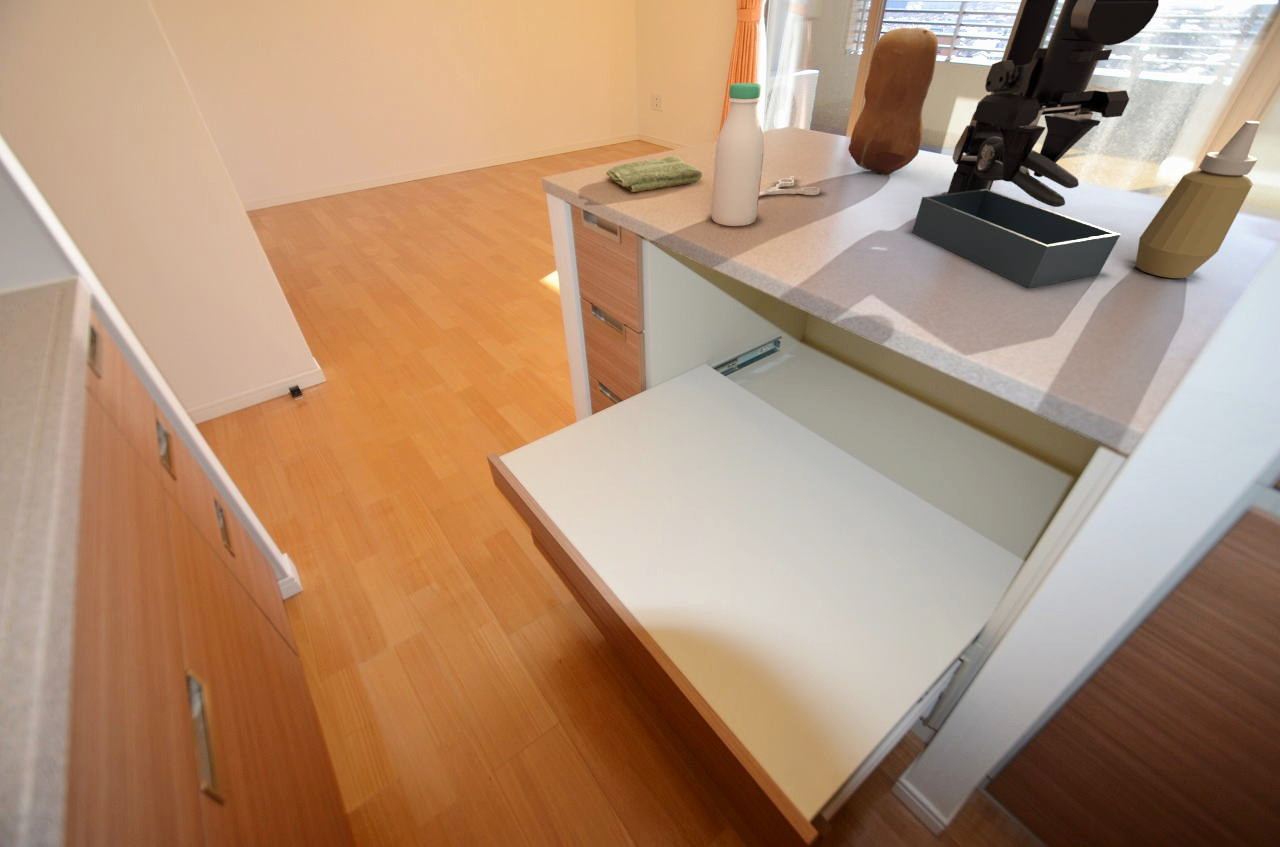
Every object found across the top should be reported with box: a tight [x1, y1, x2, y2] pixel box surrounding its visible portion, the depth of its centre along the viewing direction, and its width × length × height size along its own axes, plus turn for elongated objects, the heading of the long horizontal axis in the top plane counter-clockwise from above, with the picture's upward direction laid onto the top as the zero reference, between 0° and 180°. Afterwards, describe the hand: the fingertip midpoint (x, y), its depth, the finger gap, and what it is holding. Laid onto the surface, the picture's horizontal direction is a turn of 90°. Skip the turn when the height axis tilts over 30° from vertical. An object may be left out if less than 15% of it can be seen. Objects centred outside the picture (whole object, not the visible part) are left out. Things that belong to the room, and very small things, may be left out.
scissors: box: [759, 175, 821, 197], centre depth 104 cm, size 11×1×20 cm
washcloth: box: [606, 155, 703, 193], centre depth 112 cm, size 13×18×3 cm
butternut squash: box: [847, 27, 939, 175], centre depth 107 cm, size 14×13×25 cm
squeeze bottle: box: [1135, 120, 1261, 279], centre depth 68 cm, size 8×8×18 cm
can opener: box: [974, 136, 1080, 208], centre depth 73 cm, size 18×7×6 cm, turn 5°
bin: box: [911, 189, 1121, 289], centre depth 78 cm, size 12×22×6 cm, turn 18°
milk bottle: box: [710, 82, 765, 227], centre depth 87 cm, size 8×8×20 cm
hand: (1022, 178), depth 74 cm, fingers closed on can opener, 5 cm apart
